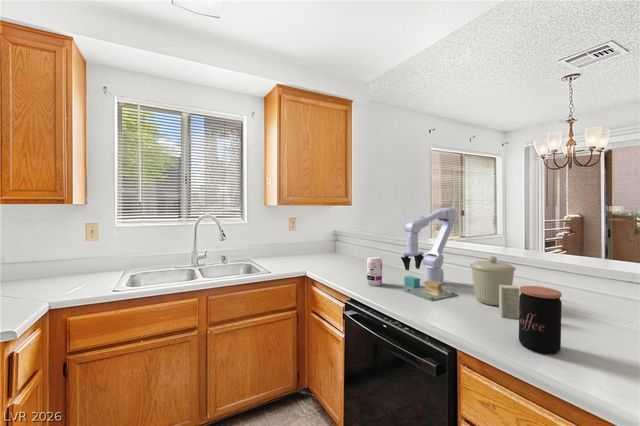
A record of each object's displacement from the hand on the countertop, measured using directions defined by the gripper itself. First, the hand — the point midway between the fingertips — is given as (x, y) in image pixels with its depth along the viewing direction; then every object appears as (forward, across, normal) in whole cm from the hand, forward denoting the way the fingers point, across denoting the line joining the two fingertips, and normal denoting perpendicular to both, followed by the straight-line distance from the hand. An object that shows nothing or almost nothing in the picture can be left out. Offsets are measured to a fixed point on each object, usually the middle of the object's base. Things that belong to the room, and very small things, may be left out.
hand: (412, 269), depth 165 cm
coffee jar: (+10, +17, +71) cm, 73 cm away
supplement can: (+10, +16, -13) cm, 23 cm away
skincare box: (+10, -1, +51) cm, 52 cm away
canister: (+10, -12, +37) cm, 40 cm away
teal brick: (+10, 0, 0) cm, 10 cm away
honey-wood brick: (+9, 0, +15) cm, 17 cm away
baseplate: (+9, +2, +14) cm, 17 cm away
